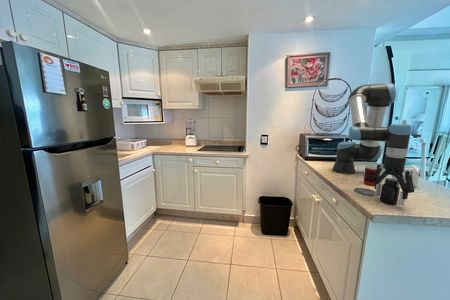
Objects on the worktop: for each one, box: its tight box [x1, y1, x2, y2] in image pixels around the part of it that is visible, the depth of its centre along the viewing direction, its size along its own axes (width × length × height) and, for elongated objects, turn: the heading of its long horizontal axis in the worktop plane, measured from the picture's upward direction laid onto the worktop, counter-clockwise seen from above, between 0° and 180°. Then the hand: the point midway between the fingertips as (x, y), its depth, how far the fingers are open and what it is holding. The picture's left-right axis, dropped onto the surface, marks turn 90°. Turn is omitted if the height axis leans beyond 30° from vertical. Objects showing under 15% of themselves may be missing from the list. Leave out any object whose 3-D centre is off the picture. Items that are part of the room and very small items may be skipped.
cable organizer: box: [391, 164, 421, 188], centre depth 120 cm, size 15×11×12 cm
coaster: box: [353, 187, 376, 197], centre depth 107 cm, size 11×11×1 cm
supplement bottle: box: [379, 177, 401, 206], centre depth 93 cm, size 7×7×12 cm
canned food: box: [363, 165, 381, 187], centre depth 119 cm, size 8×8×11 cm
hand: (388, 200), depth 94 cm, fingers open, 10 cm apart
